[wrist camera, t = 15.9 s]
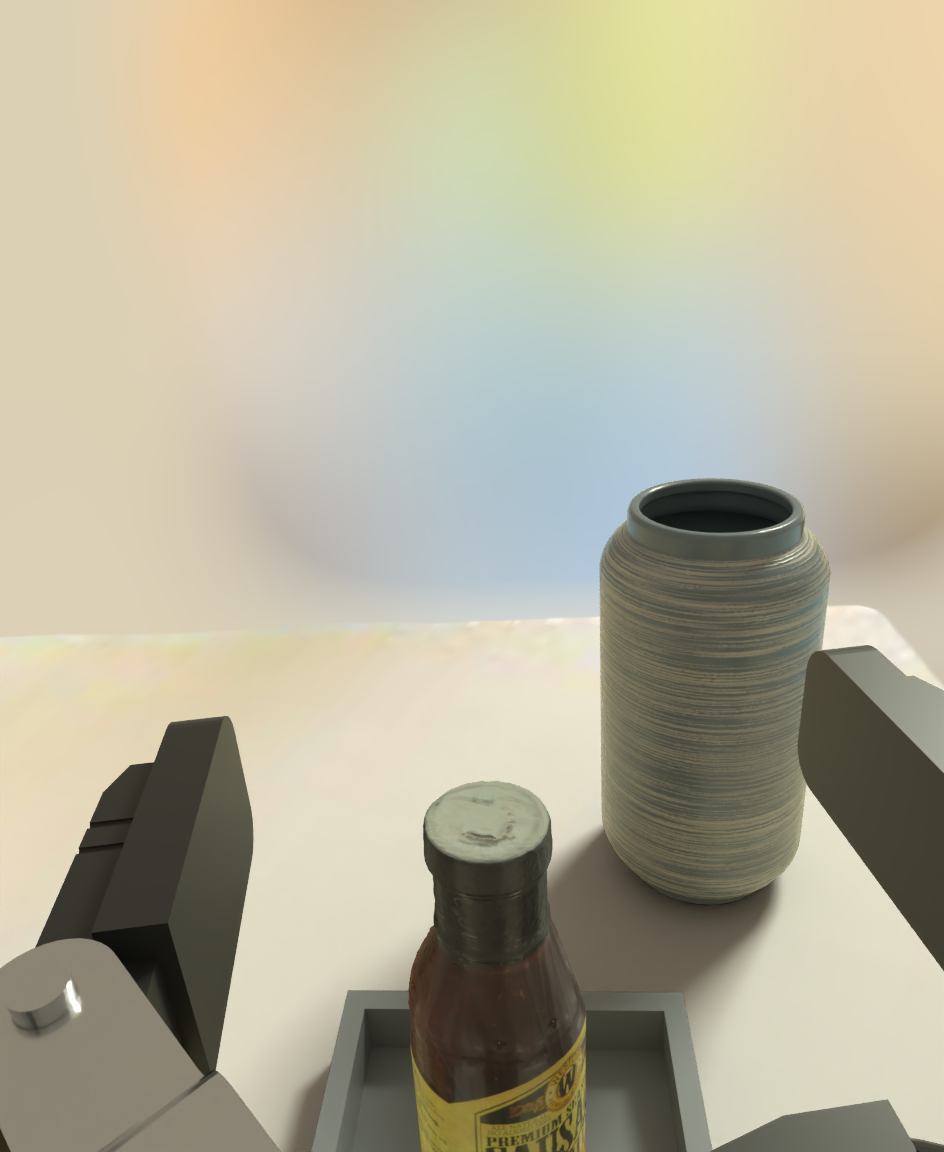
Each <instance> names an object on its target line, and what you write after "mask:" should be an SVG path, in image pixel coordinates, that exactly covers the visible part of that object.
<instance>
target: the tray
mask: <svg viewBox="0 0 944 1152" xmlns="http://www.w3.org/2000/svg"><path fill="white" fill-rule="evenodd" d="M581 995H582V998H583V1000H584V1003H585V1008H586V1061H585V1062H586V1076H585V1089H586V1093H585V1101H586V1115H585V1152H710V1151H712V1146H711V1141H710V1135H709V1130H708V1125H707V1119H706V1114H705V1108H704V1103H703V1098H702V1092H701V1087H700V1082H699V1076H698V1071H697V1065H696V1060H695V1055H694V1049H693V1044H692V1039H691V1033H690V1028H689V1023H688V1017H687V1012H686V1006H685V1001H684V996H683V992H581ZM408 1000H409V991H354V990H348V992H347V996H346V1001H345V1005H344V1010H343V1014H342V1018H341V1023H340V1027H339V1032H338V1036H337V1040H336V1045H335V1049H334V1054H333V1058H332V1062H331V1067H330V1071H329V1076H328V1080H327V1084H326V1089H325V1093H324V1097H323V1102H322V1106H321V1111H320V1115H319V1119H318V1124H317V1128H316V1133H315V1137H314V1141H313V1146H312V1150H311V1152H421V1142H420V1132H419V1122H418V1112H417V1103H416V1093H415V1084H414V1075H413V1064H412V1055H411V1046H410V1034H411V1015H410V1010H409V1004H408Z"/></svg>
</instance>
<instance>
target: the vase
mask: <svg viewBox="0 0 944 1152" xmlns="http://www.w3.org/2000/svg"><path fill="white" fill-rule="evenodd" d="M804 522H805V512H804V508H803V506H802V504H801V503H800V502H799V501H798V500H797V499H796V498H795V497H793V496H792V495H790V494H788V493H786V492H784V491H782V490H780V489H777V488H774V487H772V486H768V485H763V484H760V483H755V482H749V481H742V480H732V479H690V480H681V481H674V482H669V483H665V484H661V485H657V486H654V487H651V488H649V489H647V490H645V491H643V492H641V493H639V494H638V495H637V496H635V497H634V498H633V499H632V501H631V502H630V504H629V507H628V517H627V521H626V522H624V523H623V524H622V525H621V526H620V527H619V528H618V529H617V530H616V531H615V532H614V533H613V535H612V536H611V537H610V538H609V540H608V542H607V543H606V545H605V548H604V550H603V553H602V557H601V561H600V661H601V782H602V821H603V826H604V829H605V832H606V835H607V838H608V840H609V842H610V844H611V846H612V847H613V849H614V850H615V852H616V854H617V855H618V856H619V857H620V859H621V860H622V861H623V862H624V863H625V864H626V865H627V866H628V867H629V868H630V869H631V870H632V871H634V872H635V873H636V874H637V875H638V876H639V877H640V878H641V879H642V880H643V881H644V882H646V883H647V884H648V885H649V886H651V887H652V888H653V889H655V890H657V891H659V892H660V893H662V894H664V895H667V896H669V897H672V898H674V899H677V900H681V901H685V902H688V903H695V904H723V903H729V902H733V901H736V900H740V899H742V898H744V897H746V896H748V895H750V894H751V893H753V892H754V891H756V890H758V889H760V888H763V887H765V886H767V885H768V884H769V883H771V882H772V881H773V880H775V879H776V878H777V877H779V876H780V875H781V874H782V873H783V872H784V870H785V869H786V868H787V867H788V866H789V864H790V863H791V862H792V860H793V858H794V856H795V853H796V851H797V849H798V846H799V841H800V834H801V826H802V817H803V808H804V800H805V791H806V781H805V779H804V777H803V774H802V771H801V768H800V764H799V758H798V735H799V727H800V719H801V710H802V702H803V694H804V685H805V677H806V669H807V664H808V660H809V658H810V656H811V655H812V654H813V653H814V652H815V651H821V650H822V643H823V635H824V626H825V617H826V608H827V600H828V591H829V582H830V566H829V562H828V559H827V556H826V553H825V550H824V548H823V547H822V545H821V544H820V542H819V541H818V539H817V538H816V537H815V536H814V534H813V533H812V532H811V531H810V530H809V529H808V528H807V527H805V526H804Z"/></svg>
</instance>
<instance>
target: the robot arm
mask: <svg viewBox="0 0 944 1152" xmlns="http://www.w3.org/2000/svg"><path fill="white" fill-rule="evenodd" d="M798 758H799V764H800V768H801V771H802V774H803V777H804V779H805V781H806V783H807V785H808V787H809V788H810V790H811V791H812V793H813V794H814V795H815V797H816V798H817V799H818V801H819V802H820V803H821V805H822V806H823V808H824V809H825V810H826V812H827V813H828V814H829V816H830V817H831V818H832V820H833V821H834V822H835V824H836V825H837V827H838V828H839V829H840V831H841V832H842V833H843V835H844V836H845V837H846V839H847V840H848V841H849V843H850V844H851V846H852V847H853V848H854V850H855V851H856V852H857V854H858V855H859V856H860V858H861V859H862V860H863V862H864V863H865V865H866V866H867V867H868V869H869V870H870V871H871V873H872V874H873V875H874V877H875V878H876V879H877V881H878V882H879V884H880V885H881V886H882V888H883V889H884V890H885V892H886V893H887V894H888V896H889V897H890V898H891V900H892V901H893V903H894V904H895V905H896V907H897V908H898V909H899V911H900V912H901V913H902V915H903V916H904V917H905V919H906V920H907V922H908V923H909V924H910V926H911V927H912V928H913V930H914V931H915V932H916V934H917V935H918V936H919V938H920V939H921V941H922V942H923V943H924V945H925V946H926V947H927V949H928V950H929V951H930V953H931V954H932V955H933V957H934V958H935V960H936V961H937V962H938V964H939V965H940V966H941V968H942V969H943V970H944V691H943V690H941V689H939V688H937V687H935V686H933V685H931V684H929V683H927V682H925V681H923V680H921V679H919V678H917V677H915V676H906V675H905V674H904V673H902V672H901V671H900V670H899V669H898V668H897V667H896V666H895V665H894V664H893V663H891V662H890V661H889V660H888V659H887V658H886V657H885V656H884V655H883V654H881V653H880V652H879V651H878V650H877V649H876V648H874V647H872V646H868V645H865V646H856V647H847V648H839V649H830V650H821V651H815V652H814V653H813V654H812V655H811V656H810V658H809V660H808V664H807V669H806V677H805V685H804V694H803V702H802V710H801V719H800V727H799V735H798ZM252 854H253V821H252V812H251V806H250V802H249V797H248V792H247V788H246V783H245V778H244V774H243V769H242V764H241V760H240V755H239V750H238V746H237V741H236V736H235V732H234V728H233V724H232V722H231V720H230V718H229V717H228V716H223V717H214V718H205V719H196V720H187V721H178V722H171V723H170V724H169V725H168V727H167V729H166V732H165V734H164V737H163V740H162V743H161V745H160V748H159V751H158V753H157V756H156V759H155V761H154V762H153V763H144V764H135V765H130V766H129V767H128V768H127V769H126V770H125V771H124V772H123V773H122V774H121V775H120V776H119V777H118V778H117V779H116V780H115V781H114V782H113V783H112V784H111V785H110V786H109V787H108V788H107V789H106V790H105V791H104V792H103V794H102V796H101V798H100V801H99V803H98V805H97V807H96V810H95V812H94V814H93V817H92V819H91V821H90V829H87V830H86V833H85V835H84V837H83V840H82V842H81V844H80V846H79V854H76V856H75V858H74V860H73V862H72V865H71V867H70V869H69V872H68V874H67V876H66V878H65V881H64V883H63V885H62V888H61V890H60V892H59V895H58V897H57V899H56V901H55V904H54V906H53V908H52V911H51V913H50V915H49V917H48V920H47V922H46V924H45V927H44V929H43V931H42V933H41V936H40V938H39V940H38V943H37V945H36V947H35V948H34V949H31V950H29V951H27V952H25V953H23V954H22V955H20V956H18V957H16V958H15V959H13V960H12V961H10V962H8V963H7V964H6V965H4V966H3V967H2V968H0V1152H280V1150H279V1149H278V1148H277V1146H276V1145H275V1144H274V1142H273V1141H272V1139H271V1138H270V1137H269V1135H268V1134H267V1133H266V1131H265V1130H264V1129H263V1127H262V1126H261V1125H260V1123H259V1122H258V1121H257V1119H256V1118H255V1117H254V1115H253V1114H252V1113H251V1111H250V1110H249V1109H248V1107H247V1106H246V1105H245V1103H244V1102H243V1101H242V1099H241V1098H240V1097H239V1095H238V1094H237V1093H236V1091H235V1090H234V1089H233V1087H232V1086H231V1085H230V1084H229V1082H228V1081H227V1080H226V1079H225V1078H224V1077H223V1076H222V1075H221V1074H220V1073H219V1072H217V1071H215V1070H216V1065H217V1059H218V1053H219V1047H220V1041H221V1035H222V1030H223V1024H224V1018H225V1012H226V1006H227V1000H228V995H229V989H230V983H231V977H232V971H233V965H234V960H235V954H236V948H237V942H238V936H239V931H240V925H241V919H242V913H243V907H244V901H245V896H246V890H247V884H248V878H249V872H250V866H251V861H252ZM553 1152H571V1151H562V1150H559V1151H553ZM710 1152H944V1145H942V1144H937V1143H933V1142H929V1141H924V1140H920V1139H912V1138H909V1136H908V1134H907V1132H906V1131H905V1129H904V1127H903V1125H902V1124H901V1122H900V1120H899V1118H898V1117H897V1115H896V1113H895V1111H894V1110H893V1108H892V1106H891V1104H890V1103H889V1101H888V1100H881V1101H875V1102H868V1103H862V1104H855V1105H849V1106H843V1107H836V1108H830V1109H823V1110H817V1111H810V1112H804V1113H798V1114H791V1115H785V1116H782V1117H780V1118H778V1119H776V1120H774V1121H771V1122H769V1123H767V1124H765V1125H763V1126H761V1127H759V1128H757V1129H755V1130H753V1131H751V1132H749V1133H747V1134H745V1135H743V1136H741V1137H739V1138H737V1139H735V1140H733V1141H731V1142H729V1143H726V1144H724V1145H722V1146H720V1147H718V1148H716V1149H714V1150H712V1151H710Z"/></svg>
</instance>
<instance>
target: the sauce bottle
mask: <svg viewBox="0 0 944 1152" xmlns="http://www.w3.org/2000/svg"><path fill="white" fill-rule="evenodd" d="M423 839H424V857H425V862H426V865H427V867H428V870H429V871H430V872H431V874H432V875H433V881H434V889H433V890H434V897H435V911H434V926H432V927H431V928H430V932H428V934H427V937H426V938H425V939H424V941H423V943H422V945H421V947H420V949H419V950H418V952H417V955H416V958H415V960H414V963H413V966H412V970H411V976H410V982H409V1000H408V1004H409V1010H410V1015H411V1034H410V1046H411V1055H412V1064H413V1075H414V1084H415V1093H416V1103H417V1112H418V1122H419V1132H420V1142H421V1152H553V1151H559V1150H562V1151H571V1152H585V1115H586V1101H585V1093H586V1089H585V1076H586V1062H585V1061H586V1008H585V1003H584V1000H583V998H582V995H581V992H580V990H579V987H578V985H577V982H576V980H575V977H574V974H573V972H572V969H571V967H570V964H569V962H568V959H567V956H566V954H565V951H564V949H563V946H562V944H561V941H560V939H559V936H558V933H557V931H556V928H555V926H554V924H553V922H552V920H551V916H550V908H549V903H548V900H547V868H548V865H549V863H550V860H551V856H552V834H551V819H550V816H549V814H548V811H547V809H546V807H545V806H544V804H543V803H542V801H541V800H540V799H539V798H538V797H537V796H536V795H534V794H533V793H532V792H530V791H529V790H527V789H524V788H522V787H520V786H517V785H514V784H510V783H504V782H498V781H491V782H484V781H480V782H474V783H468V784H465V785H462V786H459V787H457V788H454V789H451V790H449V791H448V792H446V793H445V794H444V795H442V796H441V797H440V798H439V799H437V800H436V801H435V802H433V803H432V805H431V806H430V807H429V809H428V810H427V812H426V815H425V818H424V824H423Z"/></svg>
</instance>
